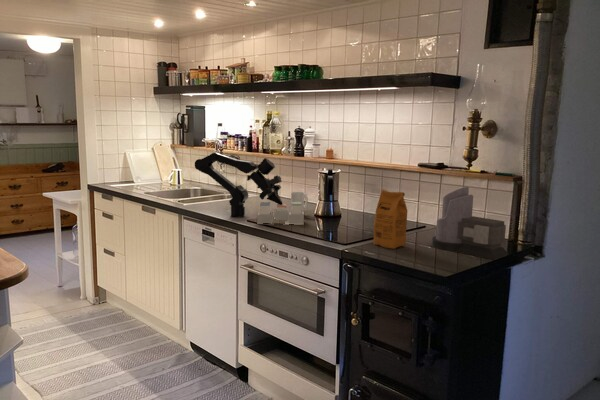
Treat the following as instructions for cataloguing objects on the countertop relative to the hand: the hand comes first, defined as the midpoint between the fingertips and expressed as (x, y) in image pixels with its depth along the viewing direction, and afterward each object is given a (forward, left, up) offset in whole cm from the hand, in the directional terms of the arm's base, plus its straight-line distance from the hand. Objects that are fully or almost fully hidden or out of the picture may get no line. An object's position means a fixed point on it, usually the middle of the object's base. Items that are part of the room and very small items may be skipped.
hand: (281, 204), depth 258 cm
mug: (+9, +13, -8) cm, 18 cm away
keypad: (0, -5, -8) cm, 9 cm away
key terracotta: (0, 0, -6) cm, 6 cm away
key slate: (-7, -11, -4) cm, 14 cm away
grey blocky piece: (+74, -58, -8) cm, 95 cm away
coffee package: (+45, -54, -8) cm, 71 cm away
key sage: (+8, -9, -4) cm, 12 cm away
